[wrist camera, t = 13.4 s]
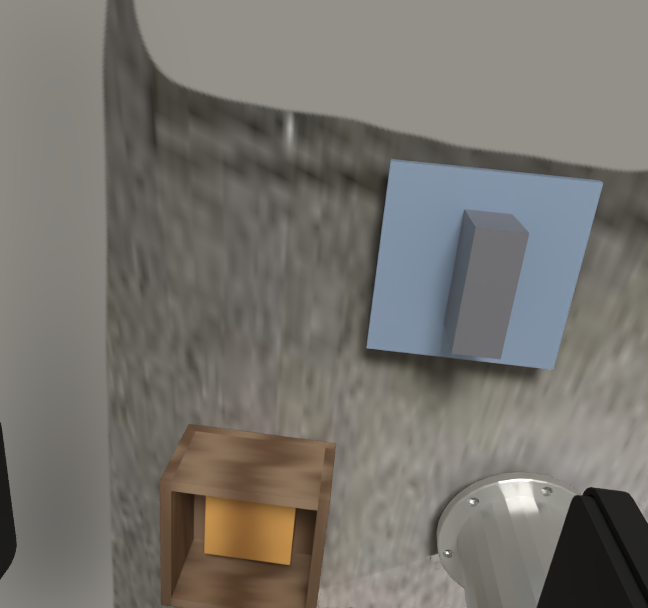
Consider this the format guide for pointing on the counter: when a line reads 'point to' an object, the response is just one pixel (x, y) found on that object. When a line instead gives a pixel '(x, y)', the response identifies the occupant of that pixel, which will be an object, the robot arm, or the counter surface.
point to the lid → (478, 262)
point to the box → (244, 520)
